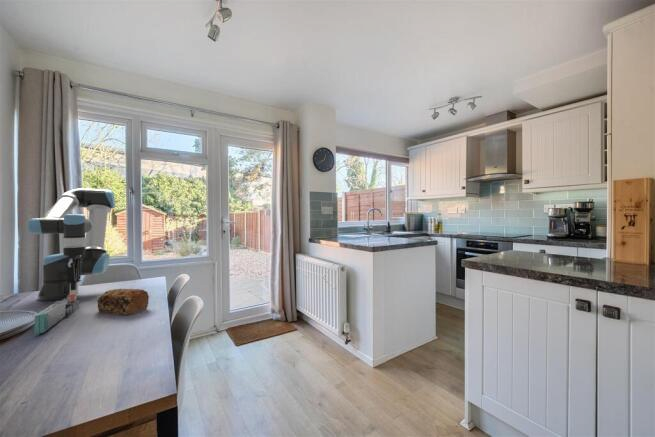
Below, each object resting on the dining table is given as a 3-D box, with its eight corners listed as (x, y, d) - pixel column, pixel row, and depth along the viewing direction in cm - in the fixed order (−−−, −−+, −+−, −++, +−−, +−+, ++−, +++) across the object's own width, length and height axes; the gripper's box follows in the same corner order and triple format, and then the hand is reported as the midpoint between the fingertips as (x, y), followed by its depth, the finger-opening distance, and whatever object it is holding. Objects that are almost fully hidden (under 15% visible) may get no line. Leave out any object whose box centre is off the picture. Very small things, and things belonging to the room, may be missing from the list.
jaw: (64, 312, 117) (64, 298, 117) (71, 312, 118) (71, 297, 118) (37, 333, 97) (37, 315, 97) (46, 332, 98) (46, 314, 98)
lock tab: (69, 300, 124) (69, 294, 124) (76, 299, 125) (76, 293, 125) (66, 301, 121) (66, 295, 121) (74, 301, 122) (74, 295, 122)
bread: (149, 309, 126) (149, 288, 126) (127, 317, 116) (127, 294, 116) (119, 305, 131) (119, 285, 131) (95, 312, 121) (96, 290, 121)
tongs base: (66, 309, 123) (66, 294, 123) (79, 308, 126) (79, 292, 126) (31, 336, 96) (31, 316, 96) (48, 334, 98) (48, 314, 98)
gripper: (69, 245, 130) (69, 293, 130) (57, 248, 118) (57, 301, 118) (89, 245, 134) (88, 292, 133) (79, 247, 122) (79, 298, 122)
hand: (74, 296), depth 126 cm, fingers closed
